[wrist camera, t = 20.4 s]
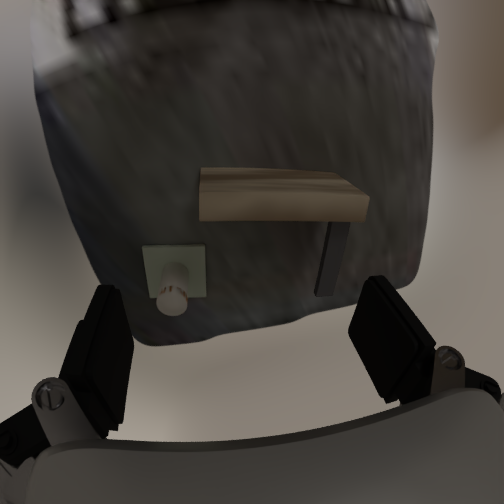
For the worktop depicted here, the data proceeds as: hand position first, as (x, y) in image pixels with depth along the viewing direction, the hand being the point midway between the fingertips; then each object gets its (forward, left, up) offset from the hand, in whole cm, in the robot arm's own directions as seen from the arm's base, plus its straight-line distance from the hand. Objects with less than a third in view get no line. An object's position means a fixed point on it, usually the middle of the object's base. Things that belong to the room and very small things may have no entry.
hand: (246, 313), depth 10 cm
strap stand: (+3, +7, -28) cm, 29 cm away
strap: (+10, +14, -21) cm, 27 cm away
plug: (+17, -6, -28) cm, 33 cm away
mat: (+17, -6, -28) cm, 34 cm away
